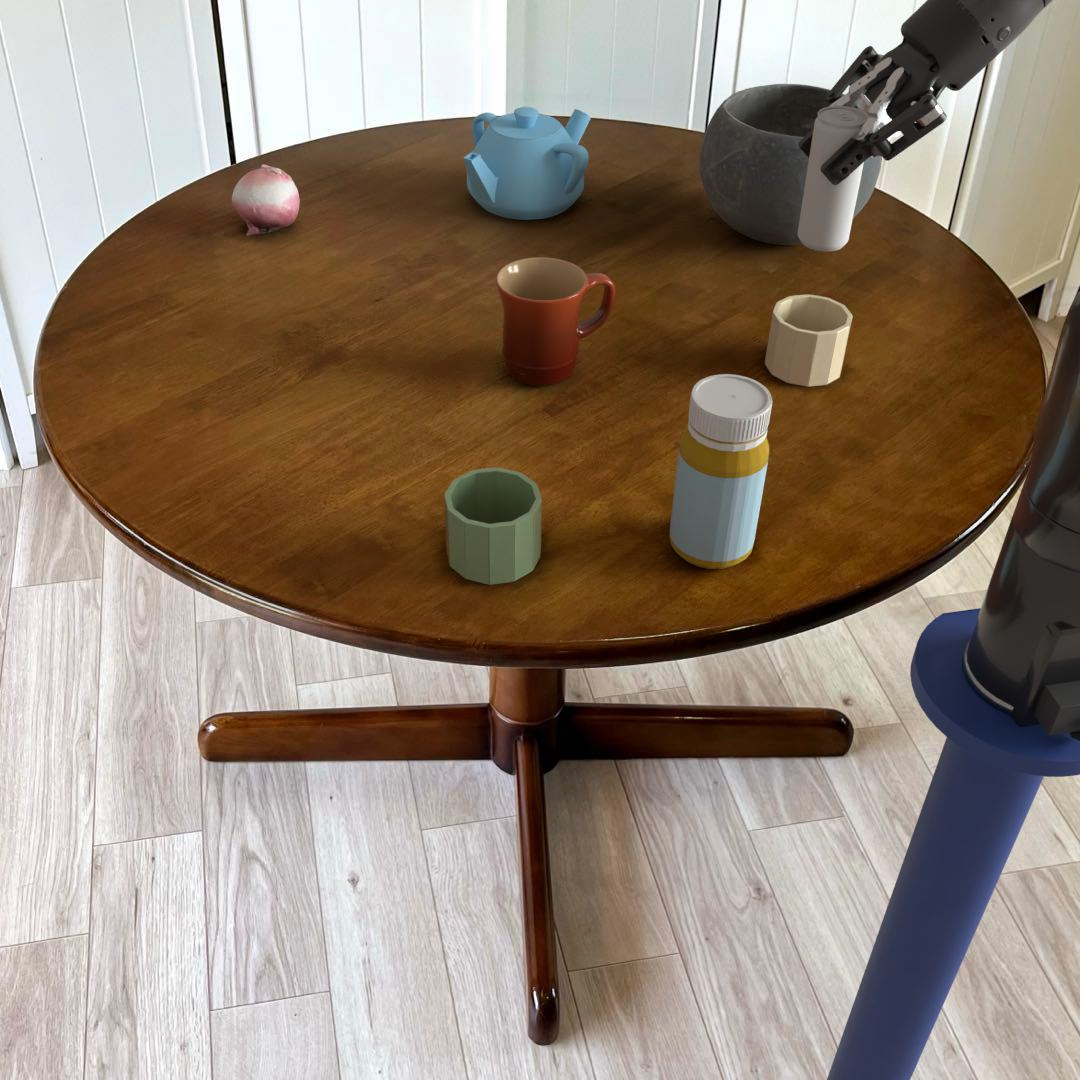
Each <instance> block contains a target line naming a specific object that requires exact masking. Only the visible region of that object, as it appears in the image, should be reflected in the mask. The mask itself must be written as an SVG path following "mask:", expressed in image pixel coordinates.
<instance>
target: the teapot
mask: <svg viewBox="0 0 1080 1080" xmlns="http://www.w3.org/2000/svg"><path fill="white" fill-rule="evenodd" d="M591 120H592V116H590V115H588V114H587V113H586V112H584V111H582V110H580V109H578V108H575V109H574V110H573V111H572V114H571V115H570V117H569V119H568V121H567V123H566V125H565V127H564V126H563V124H562V123H561V122H560V121H559V120H558V119H557V118H555V117H553V116H551V115H547V114H544V113H540V112H539V110H538V109H537V108H535V107H531V106H521V107H517V108H515V109H514V110H513V112H511V113H506V114H503V115H500V116H497V115H496V114H495V113H493V112H483V113H480V114H478V115H476V116H475V117H474V119H473V120H472V124H471V129H472V130H471V132H472V139H473V145H474V149H473V150H472V151H471V152H470V153H468V154H466V155H465V156H464V157H462V158H463V163H464V166H465V169H466V187H467V190H468V192H469V194H470V196H471V197H472V198H473V199H474V200H475V202H476V203H477V204H478V205H480V207H482V209H483V210H485V211H487V212H489V213H491V214H492V215H496V216H498V217H501V218H506V219H511V220H512V219H513V220H521V221H522V220H523V221H530V220H531V221H533V220H534V221H535V220H541V219H548V218H551V217H555V216H557V215H560V214H562V213H564V212H566V211H567V210H568V209H569V208H570V207H571V206H573V204H575V202H576V201H577V200H578V199H579V198H580V197H581V195H582V193H583V191H584V188H585V173H586V170H587V168H588V164H589V151H588V150H587V149H586V148H585V147H584V146H583V145H580V144H579V143H580V141H581V139H582V138H583V135H584V134H585V131H586V129H587V127H588V125H589V123H590V121H591ZM485 122H486V124H488V126H487V128H486V129H485Z"/></svg>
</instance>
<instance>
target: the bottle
mask: <svg viewBox="0 0 1080 1080" xmlns="http://www.w3.org/2000/svg"><path fill="white" fill-rule="evenodd" d="M772 407H773V397H772V394H771V392H770V390H769V389H768V388H767V387H766V386H765V385H764V384H762V383H760V382H759V381H757V380H755V379H753V378H751V377H747V376H744V375H739V374H731V373H721V374H714V375H710V376H709V375H708V376H705V377H704V378H702V379H700V380H699V381H697V382H696V383H695V384H694V386H693V387H692V390H691V392H690V400H689V406H688V408H689V409H688V421H687V426H686V428H685V429H684V431H683V433H682V435H681V438H680V441H679V447H678V453H677V462H676V463H677V464H676V471H675V472H676V473H675V481H674V490H673V498H672V506H671V507H672V508H671V515H670V525H669V541H670V545H671V547H672V548H673V551H674V552H675V553H676V554H677V555H678V556H679V557H681V558H682V559H683V560H685V562H687V563H689V564H690V565H693V566H695V567H697V568H702V569H705V570H724V569H728V568H731V567H733V566H736V565H738V564H740V563H741V562H743V561H745V560H746V559H748V557H749V556H750V555H751V553H752V551H753V547H754V544H755V539H756V533H757V529H758V522H759V516H760V510H761V505H762V499H763V492H764V488H765V481H766V476H767V469H768V466H769V465H768V464H769V458H770V449H771V448H770V444H769V440H768V437H767V435H768V430H769V427H768V426H769V424H770V419H771V414H772Z"/></svg>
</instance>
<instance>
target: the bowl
mask: <svg viewBox="0 0 1080 1080" xmlns="http://www.w3.org/2000/svg"><path fill="white" fill-rule="evenodd" d="M830 90H831V89H830V88H829V89H828V88H825V87H820V86H816V85H809V84H800V83H774V84H773V83H772V84H766V85H758V86H753V87H748V88H745V89H742V90H739V91H736V92H733V93H732V94H731V95H729V96H728V97H727V98H726V99H724V100H723V101H722V103H721V104H720V105H719V106H718V107H717V108H716V110H715V112H714V113H713V115H712V117H711V119H710V121H709V123H708V124H707V127H706V129H705V132H704V135H703V138H702V141H701V146H700V150H699V174H700V180H701V183H702V187H703V190H704V192H705V194H706V197H707V199H708V201H709V203H710V205H711V207H712V208H713V210H714V212H715V213H716V215H718V217H719V218H720V219H721V220H722V221H723V222H724V223H726V225H728V226H729V227H730V229H733V230H734V231H736V232H737V233H739V234H741V235H743V236H744V237H747V238H749V239H752V240H755V241H759V242H761V243H766V244H771V245H780V246H798V245H803V244H802V243H801V241H800V239H799V237H798V227H799V220H800V214H801V208H802V201H803V195H804V188H805V182H806V175H807V169H808V162H809V158H808V157H807V156H806V154H805V153H804V152H803V151H802V150H801V149H800V148H799V142H800V140H801V139H803V138H804V137H805V135H806V134H807V133H808V132H809V131H811V130H812V129H813V128H814V124H815V120H816V118H817V117H818V112H819V110H821V109H823V108H825V107H829V102H828V101H827V100H826V96H827V94H828V93H829V91H830ZM845 94H846V93H842V96H844V95H845ZM854 108H857V109H858V107H857V105H856V106H855V107H854ZM879 129H880V128H879V127H877V128H876V129H875V131H874V132H873V133H875V132H876V131H877V130H879ZM882 161H883V157H882V156H877V157H874V158H872V157H869V158H868V159H866V160H865V161H864V164H863V170H862V175H861V180H860V185H859V190H858V195H857V200H856V205H855V209H854V214H853V219H854V218H855V217H856V216H857V215H858V214H859V213H860V212H861V211H862V210H863V208H864V207H865V206H866V204H867V203H868V202H869V200H870V199H871V196H872V195H873V192H874V190H875V188H876V185H877V183H878V182H877V181H878V179H879V175H880V172H881V169H882Z"/></svg>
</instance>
